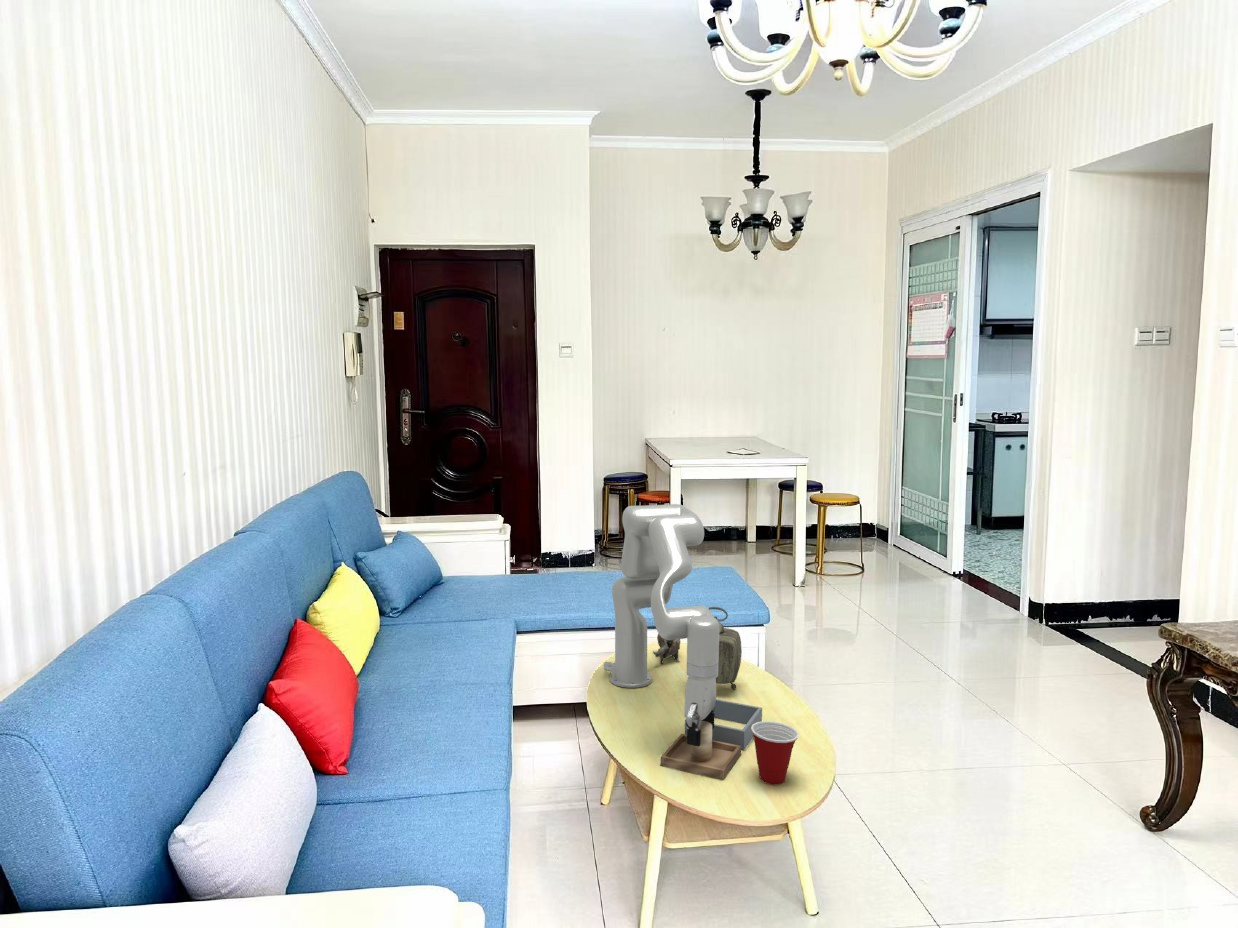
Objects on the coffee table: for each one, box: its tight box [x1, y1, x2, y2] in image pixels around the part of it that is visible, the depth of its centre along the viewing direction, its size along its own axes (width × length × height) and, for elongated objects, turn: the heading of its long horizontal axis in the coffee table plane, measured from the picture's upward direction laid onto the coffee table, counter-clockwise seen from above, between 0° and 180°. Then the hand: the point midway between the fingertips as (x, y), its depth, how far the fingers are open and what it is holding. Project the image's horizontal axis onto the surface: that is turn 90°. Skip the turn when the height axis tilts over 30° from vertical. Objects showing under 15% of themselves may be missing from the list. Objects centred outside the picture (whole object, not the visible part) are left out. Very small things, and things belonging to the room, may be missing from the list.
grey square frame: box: [684, 698, 763, 752], centre depth 220 cm, size 16×16×5 cm
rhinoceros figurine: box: [652, 633, 681, 665], centre depth 271 cm, size 8×14×15 cm
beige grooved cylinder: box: [691, 721, 712, 762], centre depth 205 cm, size 5×5×8 cm
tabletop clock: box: [707, 606, 742, 690], centre depth 245 cm, size 14×9×25 cm, turn 76°
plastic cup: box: [751, 720, 800, 786], centre depth 196 cm, size 11×11×12 cm
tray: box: [659, 733, 742, 781], centre depth 205 cm, size 16×14×2 cm
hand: (700, 736), depth 205 cm, fingers open, 9 cm apart
